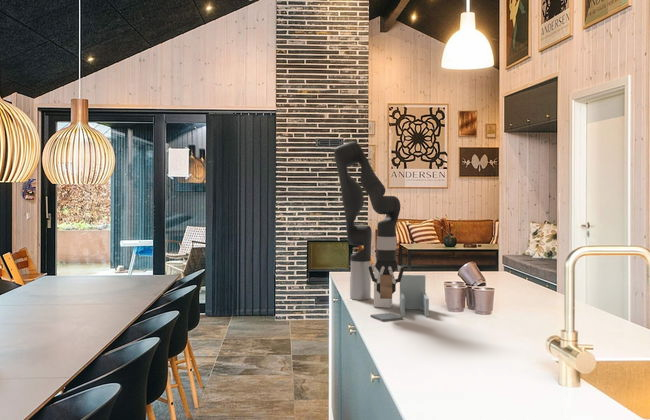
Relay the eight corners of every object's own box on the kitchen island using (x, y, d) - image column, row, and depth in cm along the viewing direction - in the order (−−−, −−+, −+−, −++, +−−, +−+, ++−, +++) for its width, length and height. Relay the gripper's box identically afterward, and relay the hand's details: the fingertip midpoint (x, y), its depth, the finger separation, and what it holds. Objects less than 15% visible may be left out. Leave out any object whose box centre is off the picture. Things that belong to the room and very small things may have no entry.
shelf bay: (399, 308, 235) (399, 274, 235) (424, 308, 234) (425, 275, 234) (401, 316, 219) (401, 280, 219) (428, 317, 218) (428, 280, 218)
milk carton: (390, 308, 236) (391, 262, 235) (373, 307, 237) (374, 262, 237) (392, 304, 243) (392, 260, 242) (375, 304, 244) (375, 260, 244)
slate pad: (370, 316, 218) (370, 314, 218) (390, 314, 222) (390, 312, 222) (382, 321, 210) (382, 319, 210) (403, 319, 214) (403, 317, 214)
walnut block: (380, 296, 218) (380, 273, 218) (391, 296, 218) (392, 273, 218) (380, 298, 214) (380, 274, 214) (392, 298, 214) (392, 275, 213)
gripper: (367, 248, 212) (367, 294, 213) (405, 249, 211) (405, 295, 211) (367, 247, 220) (367, 291, 220) (404, 247, 219) (404, 291, 219)
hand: (386, 292), depth 216 cm, fingers closed on walnut block, 4 cm apart
